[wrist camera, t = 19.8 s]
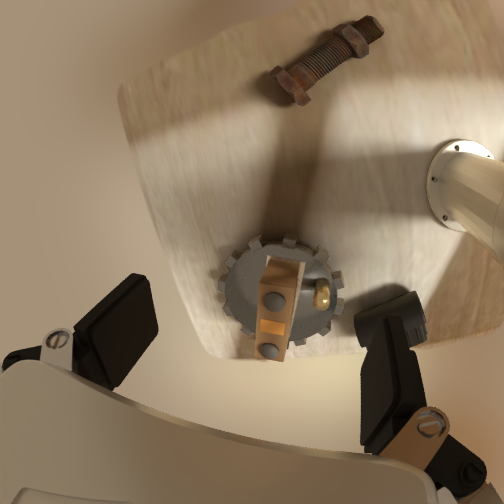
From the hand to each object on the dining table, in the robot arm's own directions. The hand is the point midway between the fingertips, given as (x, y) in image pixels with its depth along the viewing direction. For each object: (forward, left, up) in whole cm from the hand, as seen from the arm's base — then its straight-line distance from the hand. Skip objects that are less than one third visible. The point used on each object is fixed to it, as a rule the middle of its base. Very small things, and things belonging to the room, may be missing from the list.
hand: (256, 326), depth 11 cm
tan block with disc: (+2, +16, -24) cm, 29 cm away
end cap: (-15, +18, -29) cm, 37 cm away
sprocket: (+2, +16, -27) cm, 31 cm away
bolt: (-2, -16, -29) cm, 33 cm away
